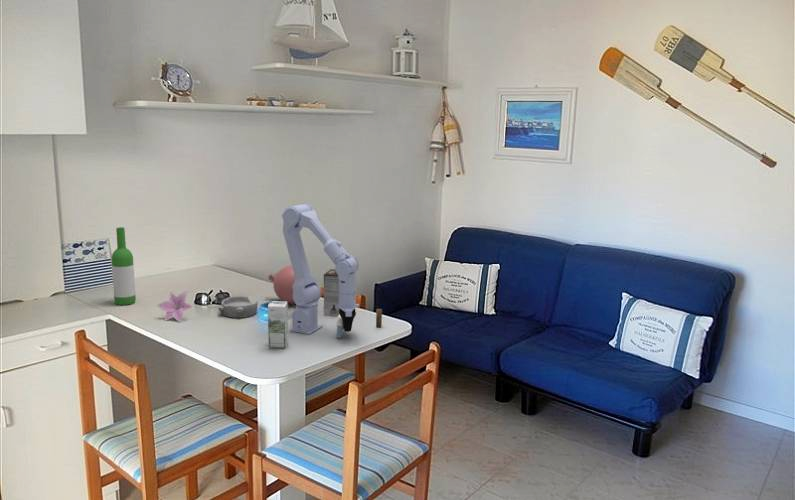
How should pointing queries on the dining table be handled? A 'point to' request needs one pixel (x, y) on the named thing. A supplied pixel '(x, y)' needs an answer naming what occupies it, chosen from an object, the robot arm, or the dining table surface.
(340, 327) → the block
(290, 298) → the pink balloon
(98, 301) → the dining table surface
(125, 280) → the wine bottle
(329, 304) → the coffee box
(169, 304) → the lily
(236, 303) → the dish
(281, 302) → the syrup box
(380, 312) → the gate posts
